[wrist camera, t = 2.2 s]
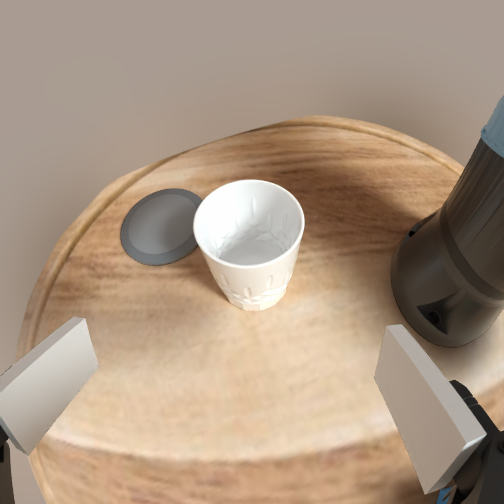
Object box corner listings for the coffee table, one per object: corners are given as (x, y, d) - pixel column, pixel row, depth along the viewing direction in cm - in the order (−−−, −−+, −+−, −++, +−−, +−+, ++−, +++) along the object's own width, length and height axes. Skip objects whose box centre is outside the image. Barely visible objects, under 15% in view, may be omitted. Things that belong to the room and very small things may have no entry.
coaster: (213, 189, 35) (212, 185, 34) (202, 266, 29) (200, 263, 29) (135, 194, 36) (134, 190, 35) (112, 265, 30) (110, 262, 29)
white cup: (282, 326, 26) (291, 280, 17) (204, 305, 27) (175, 252, 19) (301, 256, 29) (312, 189, 21) (229, 240, 31) (216, 172, 22)
